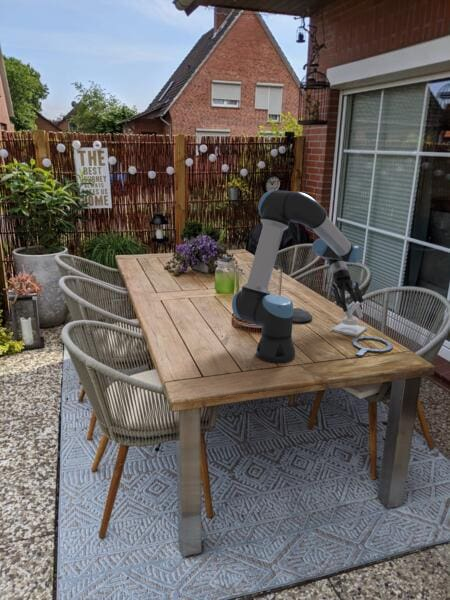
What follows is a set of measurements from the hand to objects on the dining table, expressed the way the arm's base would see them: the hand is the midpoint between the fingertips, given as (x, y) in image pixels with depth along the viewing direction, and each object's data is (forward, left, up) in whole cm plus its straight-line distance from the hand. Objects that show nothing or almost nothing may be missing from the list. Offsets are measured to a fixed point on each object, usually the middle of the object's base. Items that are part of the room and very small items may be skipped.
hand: (355, 317), depth 198 cm
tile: (+2, +3, -7) cm, 8 cm away
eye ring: (-12, -11, -7) cm, 18 cm away
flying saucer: (+1, +30, -8) cm, 31 cm away
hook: (+2, +3, -4) cm, 5 cm away
